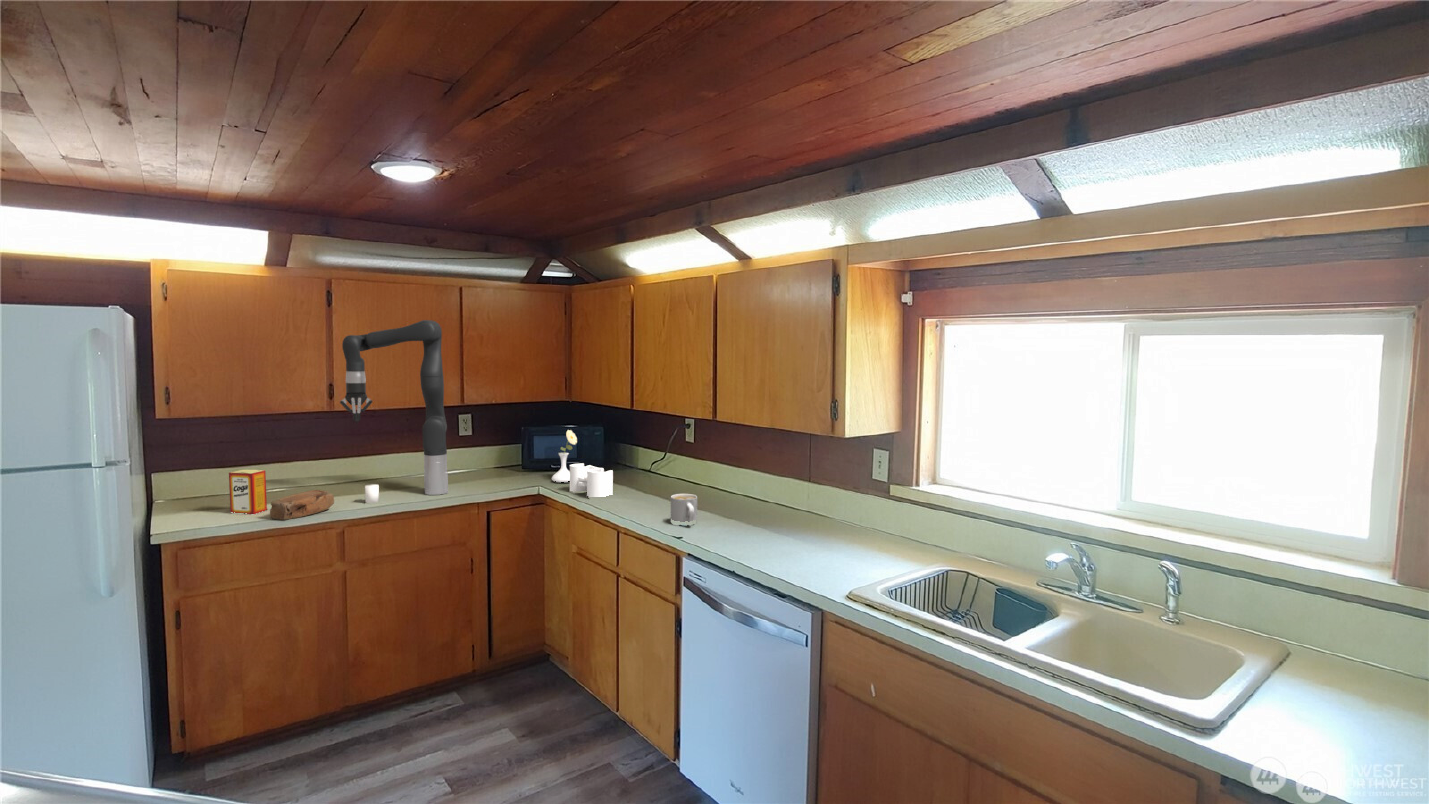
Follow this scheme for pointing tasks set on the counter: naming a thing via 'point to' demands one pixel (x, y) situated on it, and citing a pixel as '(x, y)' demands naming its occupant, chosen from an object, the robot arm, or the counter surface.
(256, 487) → the baking soda box
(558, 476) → the flower in vase
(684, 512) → the coffee mug
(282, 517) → the block
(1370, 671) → the counter surface
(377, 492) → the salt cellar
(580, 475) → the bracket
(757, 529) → the counter surface
